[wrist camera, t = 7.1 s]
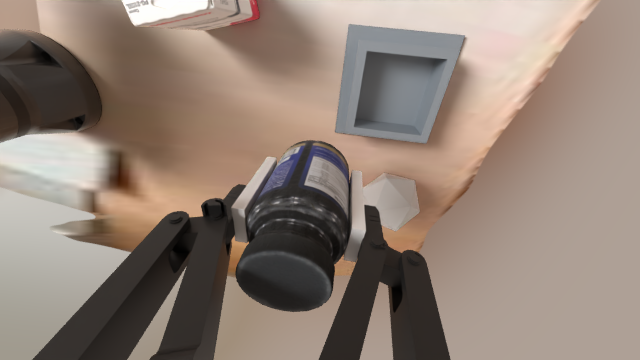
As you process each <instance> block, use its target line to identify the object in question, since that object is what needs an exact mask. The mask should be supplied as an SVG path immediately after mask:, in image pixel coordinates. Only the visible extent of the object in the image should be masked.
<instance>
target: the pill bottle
mask: <svg viewBox="0 0 640 360" xmlns="http://www.w3.org/2000/svg"><path fill="white" fill-rule="evenodd" d="M246 233H247V238H248V241H249V244H248V245H247V246H246V248H245V250H244V252H243V254H242V256H241V258H240V261H239V263H238V265H237V267H236V279H237V282H238V284H239V286H240V287H241V289H242V290H243V291H244V292H245V293H246V294H247V295H248V296H249V297H251V298H252V299H254V300H256V301H257V302H259V303H261V304H262V305H265V306H268V307H270V308H274V309H278V310H283V311H290V312H300V311H309V310H312V309H315V308H318V307H320V306H322V305H323V303H326V302H327V300H328V299H329V298H330V296H331V294H332V291H333V281H334V273H335V267H334V264H336V263H337V262H338V261H339V259H340V258H341V257H342V256H343V254H344V252H345V250H346V248H347V244H348V240H349V168H348V164H347V162H346V159H345V158H344V156H343V155H342V154H341V152H340V151H339V150H337V149H336V148H335V147H333V146H332V145H330V144H328V143H325V142H322V141H302V142H299V143H297V144H295V145H293V146H291V147H290V148H289V149H288V150H287V151H286V152H285V153H284V154H283V156H282V157H281V159H280V161H279V163H278V164H277V166H276V168H275V169H274V171H273V173H272V174H271V176H270V178H269V180H268V181H267V183H266V185H265V187H264V188H263V190H262V192H261V194H260V195H259V197H258V198H257V200H256V202H255V204H254V205H253V207H252V209H251V211H250V212H249V215H248V218H247V223H246Z"/></svg>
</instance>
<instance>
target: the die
mask: <svg viewBox="0 0 640 360" xmlns="http://www.w3.org/2000/svg"><path fill="white" fill-rule="evenodd" d="M363 197H364V205H370V206H376V208H377V209H378V211H379V214H380V220H381V225H382V226H384V227H386V228H389V229H391V230H394V231H397V230H398V229H400V228H401V227H402V226H403V225H405V224H406V223H407V222H408V221H410V220H411V219H412V218H413V217H414V216H416V215H417V214H418V213H419V212H420V209H419V203H418V197H417V190H416V184H415V180H412V179H408V178H404V177H400V176H396V175H392V174H388V173H383V174H381V175H380V176H379V177H377V178H376V179H374V180H373V181H372V182H370V183H369V184H368V185H366V186H365V187H363Z"/></svg>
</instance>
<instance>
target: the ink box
mask: <svg viewBox="0 0 640 360" xmlns="http://www.w3.org/2000/svg"><path fill="white" fill-rule="evenodd" d="M121 1H122V3H123V5H124V7H125V9H126V11H127V13H128V15H129V17H130V20H131V22H132V23H133V24H134V25H135V26H142V27H158V28H174V29H188V30H202V31H205V30H210V29H215V28H220V27H225V26H229V25H233V24H238V23H242V22H247V21H251V20H256V19H259V17H260V14H259V10H258V6H257V1H256V0H121Z"/></svg>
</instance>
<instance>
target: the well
mask: <svg viewBox="0 0 640 360" xmlns="http://www.w3.org/2000/svg"><path fill="white" fill-rule="evenodd" d="M464 37H465V35H455V34H444V33H434V32H424V31H414V30H403V29H393V28H383V27H373V26H362V25H352V24H349V27H348V35H347V43H346V51H345V58H344V66H343V74H342V82H341V90H340V98H339V106H338V114H337V121H336V129H335V132H337V133H345V134H353V135H361V136H369V137H377V138H385V139H393V140H401V141H409V142H417V143H425V144H426V143H427V140H428V138H429V135H430V132H431V129H432V127H433V124H434V121H435V118H436V116H437V113H438V110H439V108H440V105H441V102H442V99H443V97H444V94H445V91H446V88H447V86H448V83H449V80H450V78H451V75H452V72H453V69H454V67H455V64H456V61H457V58H458V56H459V53H460V48H461V46H462V43H463V40H464Z"/></svg>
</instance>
